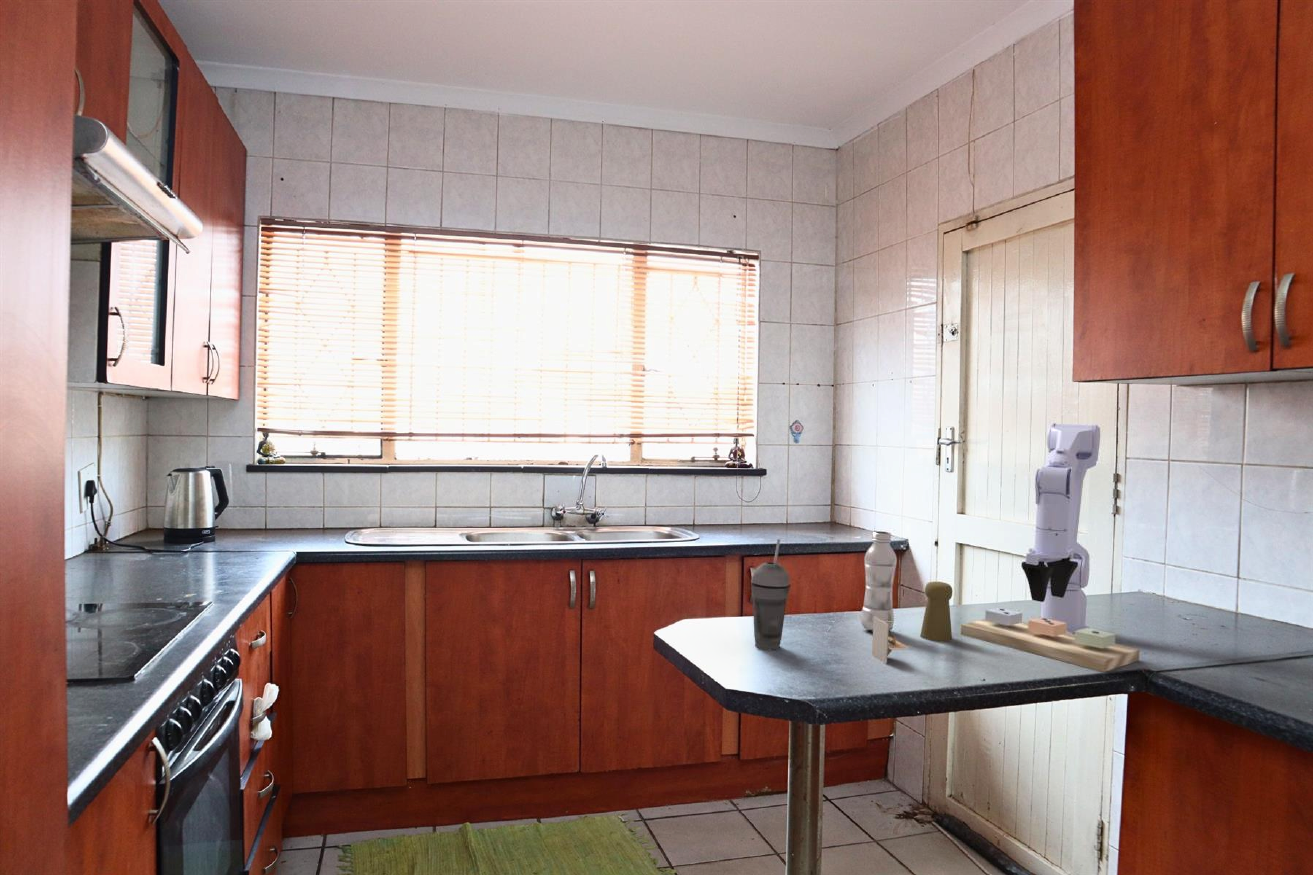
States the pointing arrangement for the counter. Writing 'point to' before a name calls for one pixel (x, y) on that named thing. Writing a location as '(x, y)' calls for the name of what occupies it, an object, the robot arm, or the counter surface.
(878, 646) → the architectural model
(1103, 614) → the counter surface
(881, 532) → the plastic bottle
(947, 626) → the cork
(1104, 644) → the tile one
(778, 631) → the beverage cup
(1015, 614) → the tile two
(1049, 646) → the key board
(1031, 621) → the tile three
